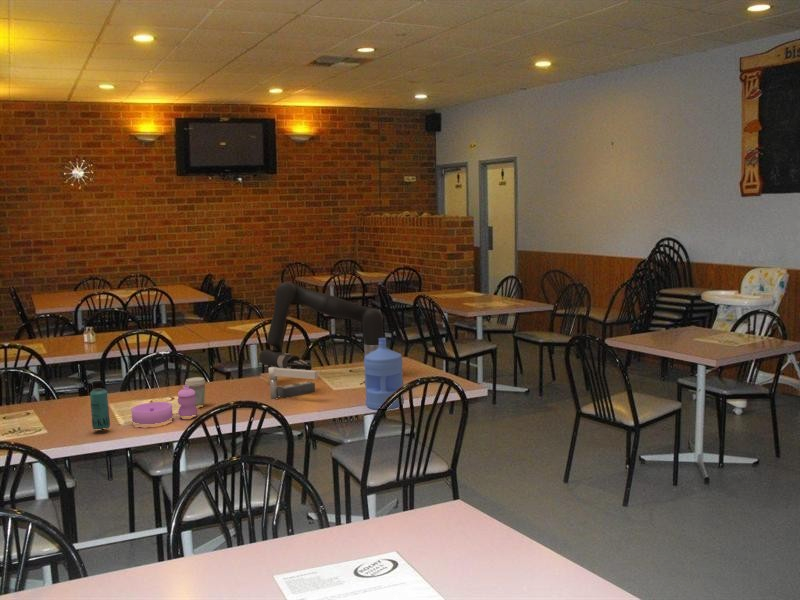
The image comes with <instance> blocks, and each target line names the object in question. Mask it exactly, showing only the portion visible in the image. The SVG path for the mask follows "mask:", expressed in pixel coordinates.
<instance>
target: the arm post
mask: <svg viewBox="0 0 800 600" xmlns="http://www.w3.org/2000/svg"><path fill="white" fill-rule="evenodd" d="M269 387H270V388H269V389H270V399H271V400H272V399H275V400H277V399H276V398H278V399H279V397H278V390H277V387H278V377H277V378H275V379H270V378H269Z"/></svg>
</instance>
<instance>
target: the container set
mask: <svg viewBox="0 0 800 600" xmlns="http://www.w3.org/2000/svg"><path fill="white" fill-rule="evenodd" d="M182 387H183V389H180V390H179V391H178V392H177V396H178V397H177V403H178V405H180V406H179V409H178V411H177V412H178V413H177V414H178V416H179V415H180V416H192V415H196V414H197V415H198V409H197V408H196V406H195V405H194V403H195V402H196V397H195V396H194V395H195V391H194V390H193V389H189V386H188V385H183V386H182ZM130 411H131V420H132V421H133V422H135V423H139V424H155V423H161V422H165V421H167V420H169V419H170V418H172V416H173V417H174V415H173V404H172V403H170V402H167V401H153V402H147V403H146V402H145V403H141V404H140V403H139V404H137V405H135V406H133V407H132V408H131V409H130ZM197 415H196V416H197ZM180 416H179V417H180ZM133 422H132V423H133Z"/></svg>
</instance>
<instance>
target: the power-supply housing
mask: <svg viewBox="0 0 800 600" xmlns="http://www.w3.org/2000/svg"><path fill="white" fill-rule="evenodd" d="M277 390H278V396H280V397H279V398H281V397H283V398H282V399H284V398H285V399H287V398H286V397H289V398H294V397H298V396H302V395H306V394H312V393H315V392H316V383H315V382H313V381H309V380H304V381H300V382H295V383H291V384H284V385H281V386H280V385H279V386H277ZM293 396H294V397H293Z"/></svg>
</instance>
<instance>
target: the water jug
mask: <svg viewBox="0 0 800 600" xmlns="http://www.w3.org/2000/svg"><path fill="white" fill-rule="evenodd" d="M363 367H364V386H365V405H366V407H367V408H369V409H372V410H377V411H379V410H378V409H379V407H380V406H381V405H382V404H383V403H384V402H385V401H386V399H387V398H388V397H390V396H391V395H392V394H393V393H394V392H396V391H397V390H398V389H399V388H400V387H402V386H403V387H404V379H403V356H402V354H401V353H399V352H397V351H394V350H393V349H390V348H388V347H387V338H386V337H384V338H379V348H378V349H377V350H375V351H373V352H371V353H369V354H367V355H365V354H364V359H363ZM401 399H402V404H403V405H404V404H405V400H404V399H405V398H404V393H403V394H402V397H401ZM399 408H401V407H400V406H399V400H398V399H397V400H396V401H395V402H393V403H392V405H391V406H390V407H389V408H388V409H387V410H388V411H389V410H395V409H399ZM387 410H386V411H387Z"/></svg>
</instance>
